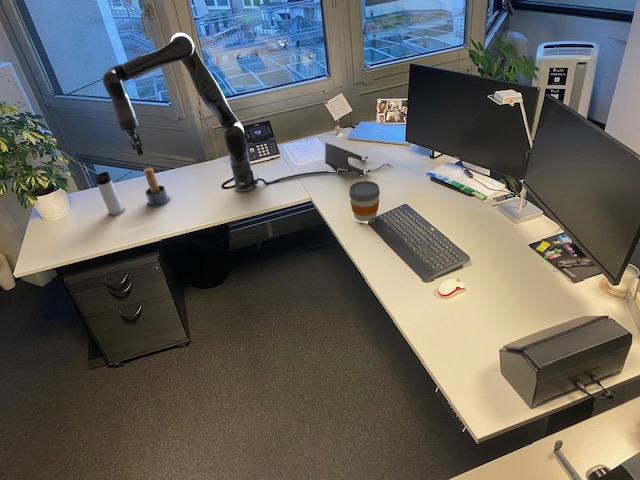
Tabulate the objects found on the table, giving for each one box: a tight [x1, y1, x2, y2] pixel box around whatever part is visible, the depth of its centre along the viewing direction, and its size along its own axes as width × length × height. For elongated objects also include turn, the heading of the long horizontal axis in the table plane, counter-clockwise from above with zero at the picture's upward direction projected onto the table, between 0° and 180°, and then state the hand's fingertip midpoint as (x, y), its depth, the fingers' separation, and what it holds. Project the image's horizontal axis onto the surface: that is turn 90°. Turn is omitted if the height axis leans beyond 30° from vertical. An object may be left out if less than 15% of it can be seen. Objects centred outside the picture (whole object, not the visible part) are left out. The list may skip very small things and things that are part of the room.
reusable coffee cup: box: [348, 180, 381, 226], centre depth 193 cm, size 13×12×15 cm
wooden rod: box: [143, 167, 160, 194], centre depth 222 cm, size 4×4×17 cm
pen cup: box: [144, 185, 169, 207], centre depth 225 cm, size 9×9×6 cm
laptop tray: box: [324, 142, 371, 176], centre depth 234 cm, size 23×23×9 cm
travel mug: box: [94, 171, 124, 216], centre depth 216 cm, size 6×7×20 cm
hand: (138, 151), depth 209 cm, fingers open, 8 cm apart
